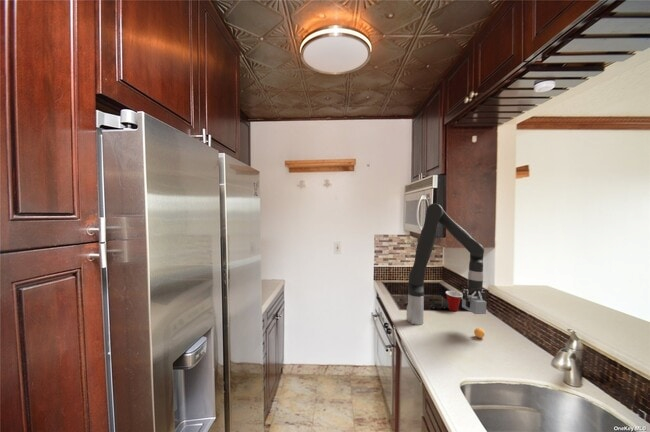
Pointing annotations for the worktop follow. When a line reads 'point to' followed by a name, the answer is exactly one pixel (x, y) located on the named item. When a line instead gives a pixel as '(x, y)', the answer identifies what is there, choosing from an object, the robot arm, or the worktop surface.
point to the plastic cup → (453, 300)
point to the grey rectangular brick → (475, 305)
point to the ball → (479, 333)
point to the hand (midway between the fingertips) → (473, 307)
